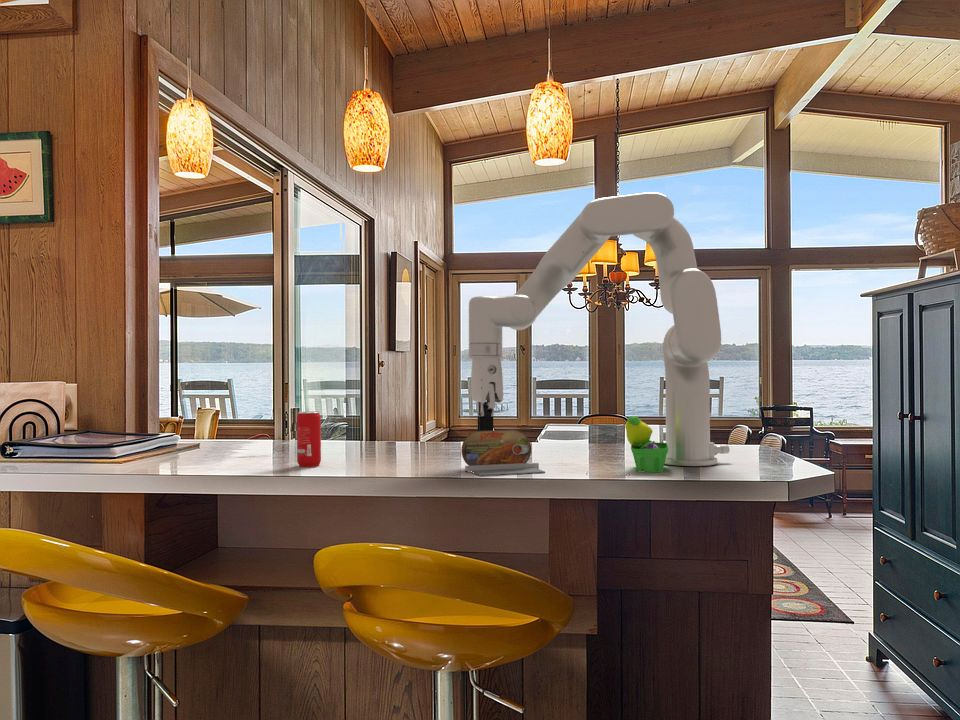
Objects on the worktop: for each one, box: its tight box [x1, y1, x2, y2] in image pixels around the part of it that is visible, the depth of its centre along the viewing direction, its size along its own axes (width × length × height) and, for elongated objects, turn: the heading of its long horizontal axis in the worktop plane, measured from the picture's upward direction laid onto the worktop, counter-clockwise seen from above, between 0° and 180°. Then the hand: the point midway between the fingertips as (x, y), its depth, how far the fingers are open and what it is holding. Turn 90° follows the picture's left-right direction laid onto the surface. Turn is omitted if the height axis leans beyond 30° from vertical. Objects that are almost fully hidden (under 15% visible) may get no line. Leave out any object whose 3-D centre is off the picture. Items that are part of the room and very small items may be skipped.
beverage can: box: [296, 410, 322, 468], centre depth 172 cm, size 5×5×12 cm
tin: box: [461, 429, 532, 466], centre depth 165 cm, size 15×3×8 cm, turn 101°
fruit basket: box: [624, 415, 669, 473], centre depth 164 cm, size 11×9×11 cm
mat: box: [464, 462, 546, 476], centre depth 160 cm, size 16×7×1 cm, turn 107°
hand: (485, 433), depth 172 cm, fingers closed
